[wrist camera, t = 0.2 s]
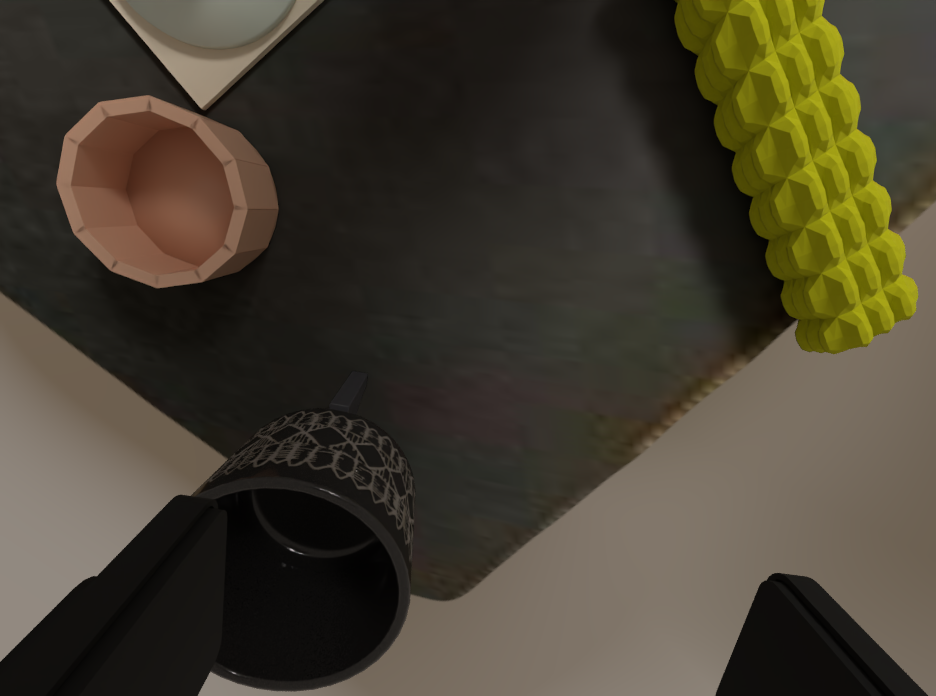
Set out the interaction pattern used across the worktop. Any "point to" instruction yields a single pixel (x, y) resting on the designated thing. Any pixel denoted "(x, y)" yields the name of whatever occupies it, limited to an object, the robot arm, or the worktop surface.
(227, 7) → the lid
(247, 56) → the mat
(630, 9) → the worktop surface
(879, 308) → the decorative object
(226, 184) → the bowl
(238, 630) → the planter
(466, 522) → the worktop surface
